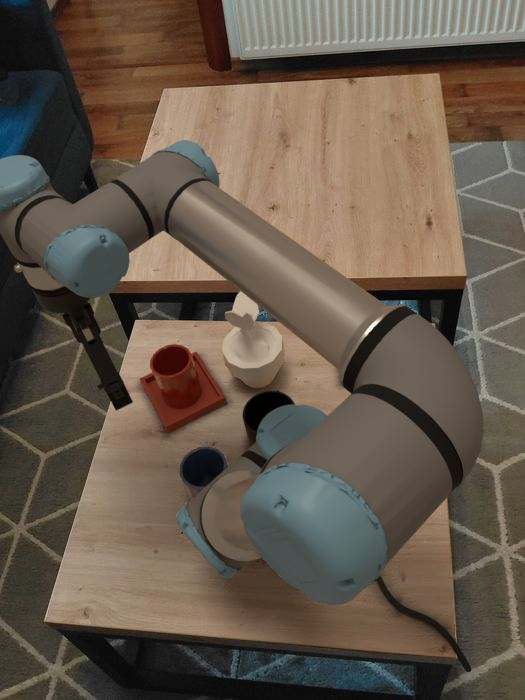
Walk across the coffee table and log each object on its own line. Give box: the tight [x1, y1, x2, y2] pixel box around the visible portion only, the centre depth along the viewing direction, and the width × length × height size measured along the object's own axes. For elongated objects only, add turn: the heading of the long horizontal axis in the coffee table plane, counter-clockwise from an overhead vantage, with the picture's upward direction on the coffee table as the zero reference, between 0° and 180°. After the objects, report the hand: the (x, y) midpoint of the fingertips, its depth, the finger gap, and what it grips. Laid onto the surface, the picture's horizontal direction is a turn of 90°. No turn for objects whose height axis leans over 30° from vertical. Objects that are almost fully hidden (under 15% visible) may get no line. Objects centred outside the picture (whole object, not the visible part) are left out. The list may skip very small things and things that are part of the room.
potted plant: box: [221, 290, 285, 389], centre depth 119 cm, size 13×12×25 cm
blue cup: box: [178, 445, 229, 500], centre depth 109 cm, size 8×8×10 cm
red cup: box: [149, 343, 202, 408], centre depth 124 cm, size 8×8×10 cm
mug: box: [241, 389, 296, 448], centre depth 116 cm, size 9×12×9 cm
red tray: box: [139, 351, 228, 434], centre depth 127 cm, size 14×13×2 cm
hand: (108, 373), depth 99 cm, fingers open, 13 cm apart
